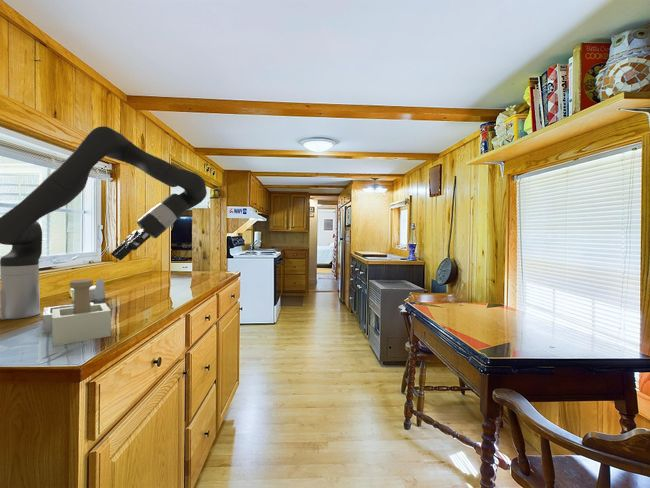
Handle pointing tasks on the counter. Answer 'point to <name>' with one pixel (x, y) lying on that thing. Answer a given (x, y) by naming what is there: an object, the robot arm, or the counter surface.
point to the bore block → (48, 317)
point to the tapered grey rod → (99, 292)
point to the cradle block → (80, 324)
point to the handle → (81, 295)
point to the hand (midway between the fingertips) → (115, 257)
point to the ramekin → (91, 292)
